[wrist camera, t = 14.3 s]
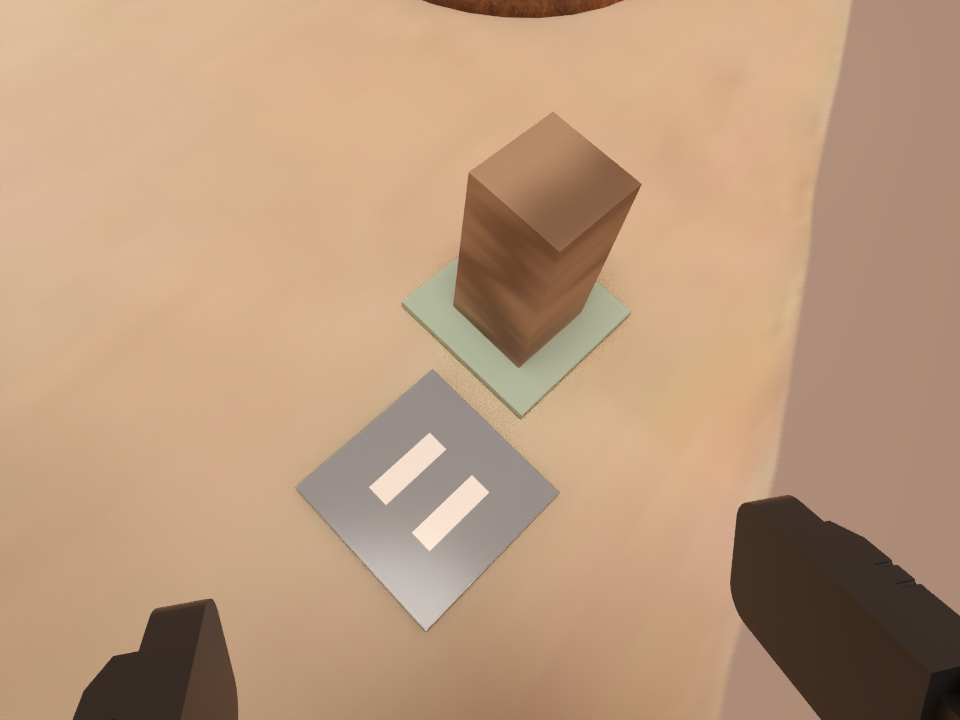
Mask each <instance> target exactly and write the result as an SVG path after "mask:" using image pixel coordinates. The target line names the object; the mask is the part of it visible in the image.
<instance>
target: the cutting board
mask: <svg viewBox="0 0 960 720" xmlns="http://www.w3.org/2000/svg"><path fill="white" fill-rule="evenodd" d="M423 1H426V2H429V3H432V4H435V5H439V6H443V7H447V8H451V9H456V10H460V11H464V12H468V13H475V14H483V15H491V16H499V17H521V18H543V17H553V16H563V15H573V14H578V13H582V12H587V11H591V10H595V9H600V8H604V7H607V6H610V5H612V4H615V3H617V2H620V1H623V0H423Z"/></svg>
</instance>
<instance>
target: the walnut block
mask: <svg viewBox="0 0 960 720" xmlns="http://www.w3.org/2000/svg"><path fill="white" fill-rule="evenodd" d="M640 187H641V183H640V182H638V181H637V180H636V179H635V178H634V177H632V176H631V175H630V174H629V173H627V172H626V171H625V170H624V169H623V168H621V167H620V166H619V165H618V164H616V163H615V162H614V161H613V160H611V159H610V158H609V157H608V156H607V155H605V154H604V153H603V152H602V151H600V150H599V149H598V148H597V147H596V146H594V145H593V144H592V143H591V142H589V141H588V140H587V139H586V138H584V137H583V136H582V135H581V134H580V133H578V132H577V131H576V130H575V129H573V128H572V127H571V126H570V125H569V124H567V123H566V122H565V121H564V120H562V119H561V118H560V117H559V116H558V115H556V114H555V113H554V112H552V113H551V114H549V115H548V116H547V117H545V118H544V119H542V120H541V121H540V122H538V123H537V124H535V125H534V126H533V127H531V128H530V129H528V130H527V131H526V132H524V133H523V134H521V135H520V136H519V137H517V138H516V139H515V140H513V141H512V142H510V143H509V144H508V145H506V146H505V147H503V148H502V149H501V150H499V151H498V152H496V153H495V154H494V155H492V156H491V157H489V158H488V159H487V160H485V161H484V162H482V163H481V164H480V165H478V166H477V167H476V168H474V169H473V170H471V171H470V172H469V175H468V184H467V192H466V201H465V209H464V218H463V226H462V235H461V243H460V252H459V260H458V268H457V277H456V285H455V294H454V302H453V306H454V307H455V308H456V309H457V310H458V311H459V312H460V313H461V314H462V315H463V316H464V317H465V318H466V319H467V320H468V321H469V322H470V323H471V324H472V325H473V326H475V327H476V328H477V329H478V330H479V331H480V332H481V333H482V334H483V335H484V336H485V337H486V338H487V339H488V340H489V341H490V342H491V343H492V344H493V345H494V346H496V347H497V348H498V349H499V350H500V351H501V352H502V353H503V354H504V355H505V356H506V357H507V358H508V359H509V360H510V361H511V362H512V363H513V364H514V365H515V366H516V367H518V368H520V367H521V366H522V365H523V364H524V363H525V362H526V361H527V360H529V359H530V358H531V357H532V356H533V355H534V354H535V353H536V352H538V351H539V350H540V349H541V348H542V347H543V346H544V345H545V344H547V343H548V342H549V341H550V340H551V339H552V338H553V337H554V336H556V335H557V334H558V333H559V332H560V331H561V330H562V329H563V328H565V327H566V326H567V325H568V324H569V323H570V322H571V321H572V320H574V319H575V318H576V317H577V316H578V315H579V314H580V313H581V312H582V310H583V308H584V306H585V303H586V301H587V299H588V297H589V295H590V293H591V291H592V289H593V286H594V284H595V282H596V280H597V278H598V276H599V274H600V272H601V269H602V267H603V265H604V263H605V261H606V259H607V257H608V255H609V252H610V250H611V248H612V246H613V244H614V242H615V240H616V238H617V235H618V233H619V231H620V229H621V227H622V225H623V223H624V221H625V218H626V216H627V214H628V212H629V210H630V208H631V206H632V204H633V201H634V199H635V197H636V195H637V193H638V191H639V189H640Z"/></svg>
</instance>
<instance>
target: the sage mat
mask: <svg viewBox="0 0 960 720" xmlns="http://www.w3.org/2000/svg"><path fill="white" fill-rule="evenodd" d="M458 260H459V257H457V258H456V259H455V260H454V261H452V262H451V263H450V264H449V265H447V266H446V267H445V268H443V269H442V270H441V271H440V272H438V273H437V274H436V275H435V276H433V277H432V278H431V279H430V280H428V281H427V282H426V283H425V284H423V285H422V286H421V287H420V288H418V289H417V290H416V291H415V292H413V293H412V294H411V295H409V296H408V297H407V298H406V299H404V300H403V301H402V307H403V308H404V309H405V310H406V311H407V312H408V313H409V314H411V315H412V316H413V317H414V318H415V319H416V320H417V321H418V322H419V323H420V324H421V325H422V326H423V327H424V328H425V329H426V330H427V331H428V332H429V333H430V334H432V335H433V336H434V337H435V338H436V339H437V340H438V341H439V342H440V343H441V344H442V345H443V346H444V347H445V348H446V349H447V350H448V351H449V352H450V353H451V354H453V355H454V356H455V357H456V358H457V359H458V360H459V361H460V362H461V363H462V364H463V365H464V366H465V367H466V368H467V369H468V370H469V371H470V372H471V373H472V374H474V375H475V376H476V377H477V378H478V379H479V380H480V381H481V382H482V383H483V384H484V385H485V386H486V387H487V388H488V389H489V390H490V391H491V392H492V393H493V394H495V395H496V396H497V397H498V398H499V399H500V400H501V401H502V402H503V403H504V404H505V405H506V406H507V407H508V408H509V409H510V410H511V411H512V412H513V413H514V414H516V415H517V416H518V417H519V418H520V419H521V418H522V417H523V416H524V415H525V414H526V413H527V412H528V411H529V410H530V409H531V408H533V407H534V406H535V405H536V404H537V403H538V402H539V401H540V400H541V399H542V398H543V397H544V396H545V395H546V394H547V393H548V392H549V391H550V390H551V389H552V388H553V387H555V386H556V385H557V384H558V383H559V382H560V381H561V380H562V379H563V378H564V377H565V376H566V375H567V374H568V373H569V372H570V371H571V370H572V369H573V368H574V367H575V366H577V365H578V364H579V363H580V362H581V361H582V360H583V359H584V358H585V357H586V356H587V355H588V354H589V353H590V352H591V351H592V350H593V349H594V348H595V347H596V346H597V345H599V344H600V343H601V342H602V341H603V340H604V339H605V338H606V337H607V336H608V335H609V334H610V333H611V332H612V331H613V330H614V329H615V328H616V327H617V326H618V325H620V324H621V323H622V322H623V321H624V320H625V319H626V318H627V317H628V316H629V315H630V313H631V310H630V309H628V308H627V307H626V306H625V305H624V304H623V303H621V302H620V301H619V300H618V299H617V298H616V297H614V296H613V295H612V294H611V293H610V292H609V291H607V290H606V289H605V288H604V287H603V286H602V285H600V284H599V283H598V282H597V281H596V282H595V284H594V286H593V289H592V291H591V293H590V295H589V297H588V299H587V301H586V303H585V306H584V308H583V310H582V312H581V313H580V314H579V315H578V316H577V317H576V318H575V319H574V320H572V321H571V322H570V323H569V324H568V325H567V326H566V327H565V328H563V329H562V330H561V331H560V332H559V333H558V334H557V335H556V336H554V337H553V338H552V339H551V340H550V341H549V342H548V343H547V344H545V345H544V346H543V347H542V348H541V349H540V350H539V351H538V352H536V353H535V354H534V355H533V356H532V357H531V358H530V359H529V360H527V361H526V362H525V363H524V364H523V365H522V366H521V367H520V368H518V367H516V366H515V365H514V364H513V363H512V362H511V361H510V360H509V359H508V358H507V357H506V356H505V355H504V354H503V353H502V352H501V351H500V350H499V349H498V348H497V347H496V346H494V345H493V344H492V343H491V342H490V341H489V340H488V339H487V338H486V337H485V336H484V335H483V334H482V333H481V332H480V331H479V330H478V329H477V328H476V327H475V326H473V325H472V324H471V323H470V322H469V321H468V320H467V319H466V318H465V317H464V316H463V315H462V314H461V313H460V312H459V311H458V310H457V309H456V308H455V307H454V306H453V302H454V294H455V285H456V277H457V268H458Z"/></svg>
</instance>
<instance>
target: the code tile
mask: <svg viewBox="0 0 960 720" xmlns="http://www.w3.org/2000/svg"><path fill="white" fill-rule="evenodd" d="M295 488H296V490H297V491H298V492H299V493H300V494H301V495H302V496H303V497H304V498H305V499H306V501H307V502H308V503H309V504H310V505H311V506H312V507H313V508H314V509H315V510H316V512H317V513H318V514H319V515H320V516H321V517H322V518H323V519H324V520H325V521H326V523H327V524H328V525H329V526H330V527H331V528H332V529H333V530H334V531H335V532H336V534H337V535H338V536H339V537H340V538H341V539H342V540H343V541H344V542H345V543H346V545H347V546H348V547H349V548H350V549H351V550H352V551H353V552H354V553H355V554H356V556H357V557H358V558H359V559H360V560H361V561H362V562H363V563H364V564H365V566H366V567H367V568H368V569H369V570H370V571H371V572H372V573H373V574H374V575H375V577H376V578H377V579H378V580H379V581H380V582H381V583H382V584H383V585H384V586H385V588H386V589H387V590H388V591H389V592H390V593H391V594H392V595H393V596H394V597H395V599H396V600H397V601H398V602H399V603H400V604H401V605H402V606H403V607H404V608H405V610H406V611H407V612H408V613H409V614H410V615H411V616H412V617H413V618H414V619H415V621H416V622H417V623H418V624H419V625H420V626H421V627H422V628H423V629H424V630H425V632H426V631H427V630H428V629H429V628H430V627H431V626H432V625H433V624H434V623H435V622H436V621H437V619H438V618H439V617H440V616H441V615H442V614H443V613H444V612H445V611H446V610H447V609H448V608H449V607H450V606H451V605H452V604H453V603H454V602H455V601H456V600H457V599H458V598H459V597H460V596H461V595H462V593H463V592H464V591H465V590H466V589H467V588H468V587H469V586H470V585H471V584H472V583H473V582H474V581H475V580H476V579H477V578H478V577H479V576H480V575H481V574H482V573H483V572H484V571H485V570H486V569H487V567H488V566H489V565H490V564H491V563H492V562H493V561H494V560H495V559H496V558H497V557H498V556H499V555H500V554H501V553H502V552H503V551H504V550H505V549H506V548H507V547H508V546H509V545H510V544H511V543H512V541H513V540H514V539H515V538H516V537H517V536H518V535H519V534H520V533H521V532H522V531H523V530H524V529H525V528H526V527H527V526H528V525H529V524H530V523H531V522H532V521H533V520H534V519H535V518H536V516H537V515H538V514H539V513H540V512H541V511H542V510H543V509H544V508H545V507H546V506H547V505H548V504H549V503H550V502H551V501H552V500H553V499H554V498H555V497H556V496H557V495H558V493H559V491H558V490H557V489H556V488H555V487H554V486H553V485H552V484H551V483H550V482H549V481H547V480H546V479H545V478H544V477H543V476H542V475H541V474H540V473H539V472H538V471H537V470H536V469H535V468H534V467H533V466H532V465H531V464H530V463H529V462H528V461H527V460H526V459H525V458H524V457H523V456H522V455H521V454H520V453H519V452H518V451H517V450H515V449H514V448H513V447H512V446H511V445H510V444H509V443H508V442H507V441H506V440H505V439H504V438H503V437H502V436H501V435H500V434H499V433H498V432H497V431H496V430H495V429H494V428H493V427H492V426H491V425H490V424H489V423H488V422H487V421H486V420H485V419H483V418H482V417H481V416H480V415H479V414H478V413H477V412H476V411H475V410H474V409H473V408H472V407H471V406H470V405H469V404H468V403H467V402H466V401H465V400H464V399H463V398H462V397H461V396H460V395H459V394H458V393H457V392H456V391H455V390H454V389H453V388H452V387H450V386H449V385H448V384H447V383H446V382H445V381H444V380H443V379H442V378H441V377H440V376H439V375H438V374H437V373H436V372H435V371H434V370H433V369H432V370H431V371H430V372H429V373H428V374H427V375H425V376H424V377H423V378H422V379H421V380H420V381H418V382H417V383H416V384H415V385H414V386H413V387H411V388H410V389H409V390H408V391H407V392H406V393H404V394H403V395H402V396H401V397H400V398H399V399H398V400H396V401H395V402H394V403H393V404H392V405H391V406H389V407H388V408H387V409H386V410H385V411H384V412H382V413H381V414H380V415H379V416H378V417H377V418H375V419H374V420H373V421H372V422H371V423H370V424H368V425H367V426H366V427H365V428H364V429H363V430H361V431H360V432H359V433H358V434H357V435H356V436H354V437H353V438H352V439H351V440H350V441H349V442H347V443H346V444H345V445H344V446H343V447H342V448H340V449H339V450H338V451H337V452H336V453H335V454H334V455H332V456H331V457H330V458H329V459H328V460H327V461H325V462H324V463H323V464H322V465H321V466H320V467H318V468H317V469H316V470H315V471H314V472H313V473H311V474H310V475H309V476H308V477H307V478H306V479H304V480H303V481H302V482H301V483H300V484H299V485H297V486H296V487H295Z"/></svg>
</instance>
